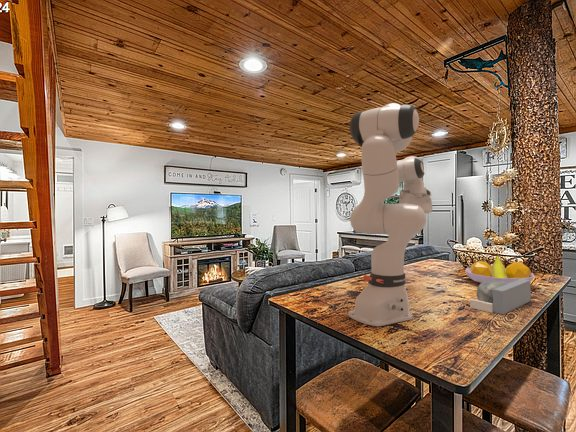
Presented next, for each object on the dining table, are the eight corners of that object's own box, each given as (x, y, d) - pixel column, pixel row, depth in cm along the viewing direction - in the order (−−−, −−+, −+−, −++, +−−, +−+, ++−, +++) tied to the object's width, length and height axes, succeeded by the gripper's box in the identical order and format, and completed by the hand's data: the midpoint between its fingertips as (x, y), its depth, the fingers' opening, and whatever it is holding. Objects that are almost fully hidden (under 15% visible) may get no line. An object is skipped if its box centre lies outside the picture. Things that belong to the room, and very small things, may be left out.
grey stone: (488, 287, 120) (496, 269, 115) (512, 303, 113) (522, 284, 107) (466, 299, 115) (473, 281, 110) (489, 317, 108) (498, 298, 103)
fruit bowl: (525, 296, 118) (525, 268, 117) (455, 283, 139) (454, 260, 139) (544, 284, 134) (544, 259, 134) (478, 274, 156) (478, 253, 156)
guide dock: (501, 315, 98) (501, 291, 98) (470, 307, 106) (469, 285, 106) (531, 300, 112) (531, 279, 112) (502, 294, 121) (501, 275, 120)
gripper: (406, 187, 125) (409, 218, 122) (433, 192, 136) (436, 221, 133) (393, 190, 130) (397, 220, 128) (420, 196, 141) (424, 223, 139)
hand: (417, 221), depth 131 cm, fingers closed
